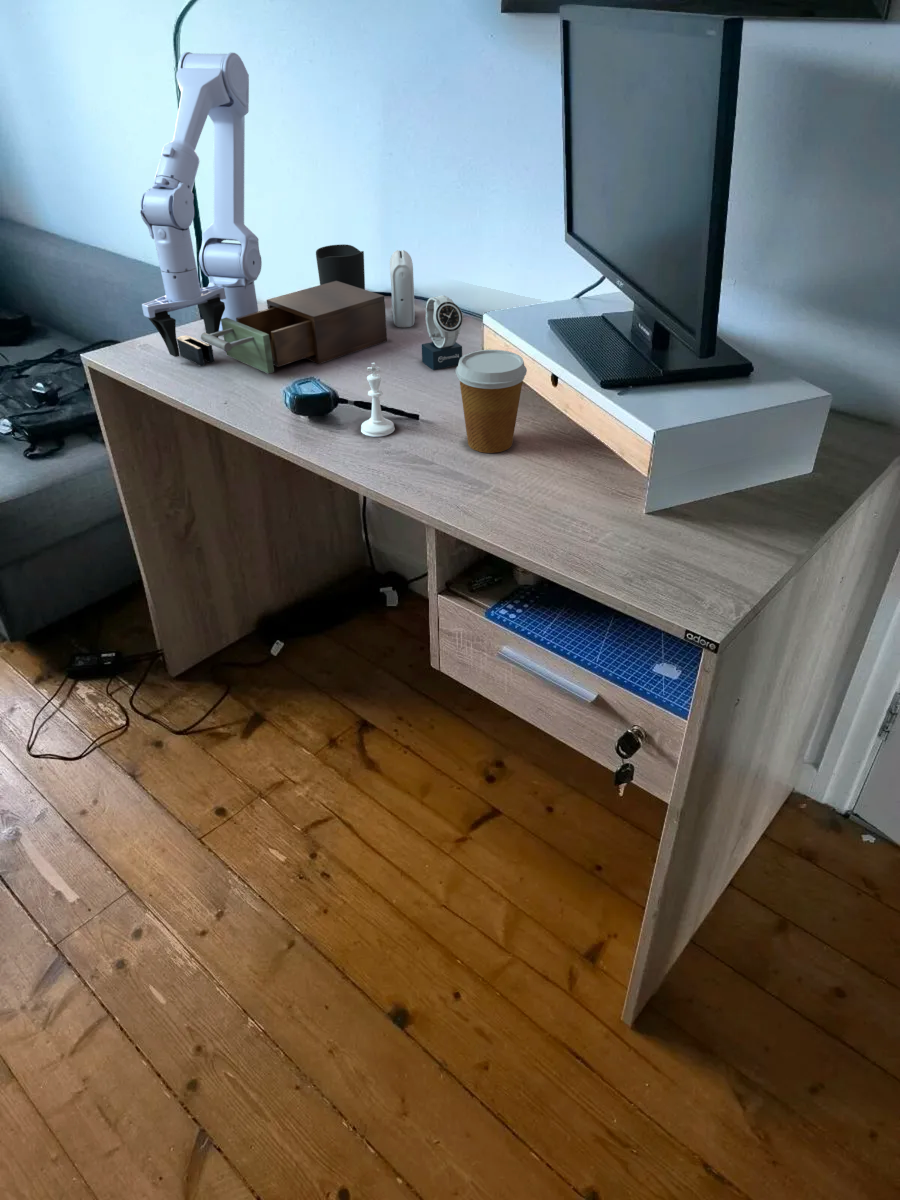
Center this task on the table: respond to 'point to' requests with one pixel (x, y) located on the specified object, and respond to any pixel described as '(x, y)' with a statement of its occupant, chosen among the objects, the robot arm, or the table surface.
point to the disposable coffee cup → (490, 397)
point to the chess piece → (376, 409)
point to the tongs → (195, 350)
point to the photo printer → (402, 289)
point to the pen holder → (341, 265)
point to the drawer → (265, 338)
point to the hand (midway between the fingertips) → (194, 349)
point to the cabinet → (338, 317)
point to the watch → (442, 333)
